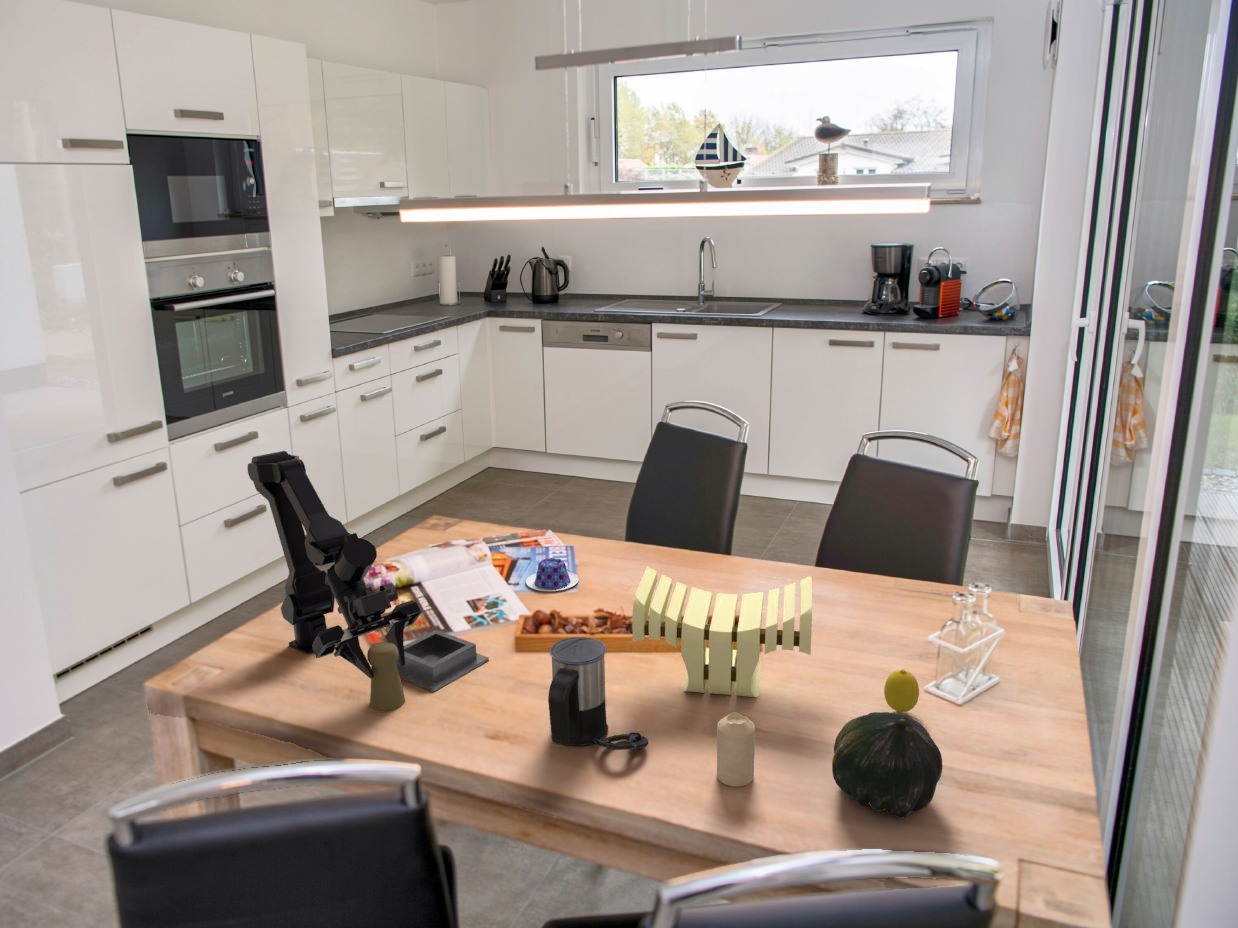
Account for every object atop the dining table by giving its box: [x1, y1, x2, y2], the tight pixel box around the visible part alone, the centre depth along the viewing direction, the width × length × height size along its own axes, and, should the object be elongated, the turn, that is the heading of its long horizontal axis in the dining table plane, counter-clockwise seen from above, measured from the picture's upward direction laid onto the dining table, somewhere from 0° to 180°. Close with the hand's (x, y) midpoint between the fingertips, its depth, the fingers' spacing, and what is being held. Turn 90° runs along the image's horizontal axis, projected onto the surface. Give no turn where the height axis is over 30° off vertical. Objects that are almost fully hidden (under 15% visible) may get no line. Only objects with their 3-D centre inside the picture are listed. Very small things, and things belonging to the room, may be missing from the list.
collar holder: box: [396, 629, 490, 693], centre depth 171 cm, size 14×14×4 cm
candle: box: [716, 711, 756, 788], centre depth 135 cm, size 6×6×10 cm
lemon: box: [883, 668, 920, 714], centre depth 151 cm, size 6×6×8 cm
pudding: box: [525, 557, 579, 592], centre depth 207 cm, size 12×12×5 cm
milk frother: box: [547, 636, 649, 751], centre depth 144 cm, size 14×16×15 cm
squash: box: [831, 711, 943, 819], centre depth 129 cm, size 14×15×15 cm
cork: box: [366, 641, 406, 713], centre depth 157 cm, size 6×6×11 cm
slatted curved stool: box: [631, 565, 813, 698], centre depth 162 cm, size 30×16×18 cm, turn 79°
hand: (388, 671), depth 156 cm, fingers open, 6 cm apart
